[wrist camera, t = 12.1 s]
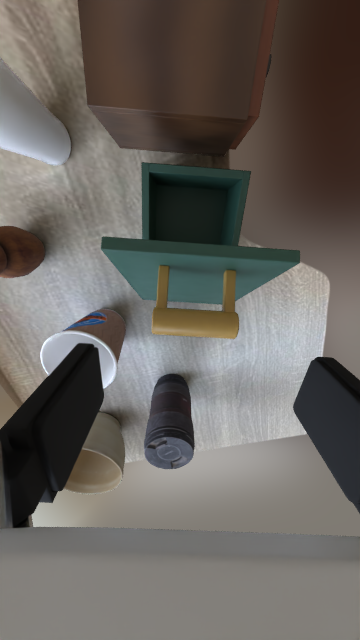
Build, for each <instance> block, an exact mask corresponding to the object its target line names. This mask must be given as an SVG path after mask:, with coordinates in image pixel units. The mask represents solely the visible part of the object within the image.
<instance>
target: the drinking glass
mask: <svg viewBox="0 0 360 640" xmlns="http://www.w3.org/2000/svg"><path fill="white" fill-rule="evenodd" d="M0 148H1V149H5V150H8V151H11V152H15V153H18V154H21V155H24V156H28V157H31V158H34V159H37V160H40V161H42V162H45V163H47V164H50V165H61V164H63V163H64V162H66V160H67V159H68V158H69V155H70V152H71V141H70V137H69V134H68V132H67V130H66V128H65V126H64V125H63V123H62V122H61V121H60V120H59V119H58V118H57V117H56V116H55V115H53V114H52V113H51V112H50V111H49V110H48V108H47V107H46V106H45V105H44V104H43V103H42V102H41V101H40V100H39V99H38V98H37V97H36V95H35V94H34V93H33V92H32V91H31V90H30V89H29V88H28V87H27V86H26V85H25V83H24V82H23V81H22V80H21V79H20V78H19V77H18V76H17V75H16V74H15V72H14V71H13V70H12V69H11V68H10V67H9V66H8V65H7V64H6V63H5V62H4V60H3V59H2V58H1V57H0Z"/></svg>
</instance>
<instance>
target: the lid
mask: <svg viewBox="0 0 360 640" xmlns="http://www.w3.org/2000/svg"><path fill="white" fill-rule="evenodd" d="M101 250H102V251H103V252H104V254H105V255H106V256H107V257H108V258H109V260H110V261H111V262H112V263H113V264H114V266H115V267H116V268H117V269H118V270H119V272H120V273H121V274H122V275H123V277H124V278H125V279H126V280H127V281H128V283H129V284H130V285H131V286H132V287H133V289H134V290H135V291H136V292H137V293H138V295H139V296H140V297H141V298H142V299H143V300H157V301H156V307H154V309H153V314H152V333H153V334H160V335H177V336H194V337H211V338H228V339H235V338H236V337H237V334H238V330H239V317H238V314H237V313H236V312H235V301H236V300H238V299H240V298H241V297H243V296H245V295H246V294H248V293H250V292H251V291H253V290H255V289H256V288H258V287H260V286H262V285H263V284H265V283H267V282H268V281H270V280H272V279H273V278H275V277H277V276H279V275H280V274H282V273H284V272H285V271H287V270H289V269H290V268H292V267H294V266H295V265H297V264H299V263H300V251H298V250H284V249H270V248H256V247H242V246H228V245H214V244H200V243H185V242H171V241H157V240H143V239H129V238H115V237H102V243H101ZM168 301H174V302H190V303H206V304H221V305H222V311H211V310H195V309H178V308H167V302H168Z"/></svg>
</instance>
